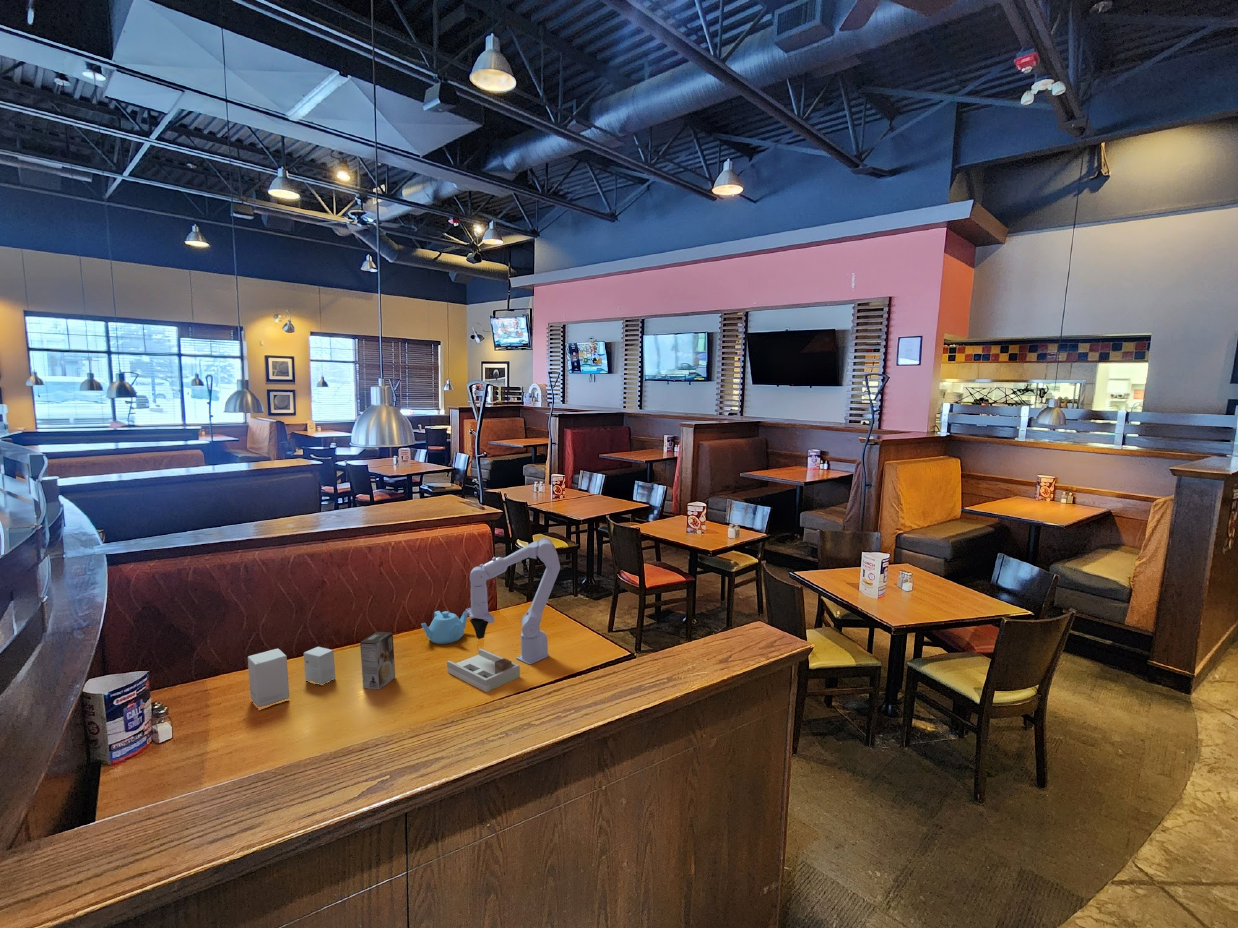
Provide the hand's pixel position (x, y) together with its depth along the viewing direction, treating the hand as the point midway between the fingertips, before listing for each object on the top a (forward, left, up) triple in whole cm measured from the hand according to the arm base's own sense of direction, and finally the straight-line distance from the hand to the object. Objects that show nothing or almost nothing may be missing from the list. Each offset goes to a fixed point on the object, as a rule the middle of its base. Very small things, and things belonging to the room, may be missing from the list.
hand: (480, 637), depth 207 cm
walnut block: (+3, +16, -7) cm, 18 cm away
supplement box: (+59, -29, -10) cm, 66 cm away
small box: (+43, -31, -10) cm, 54 cm away
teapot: (-5, -30, -10) cm, 32 cm away
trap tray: (+5, +8, -9) cm, 13 cm away
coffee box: (+31, -14, -10) cm, 35 cm away
